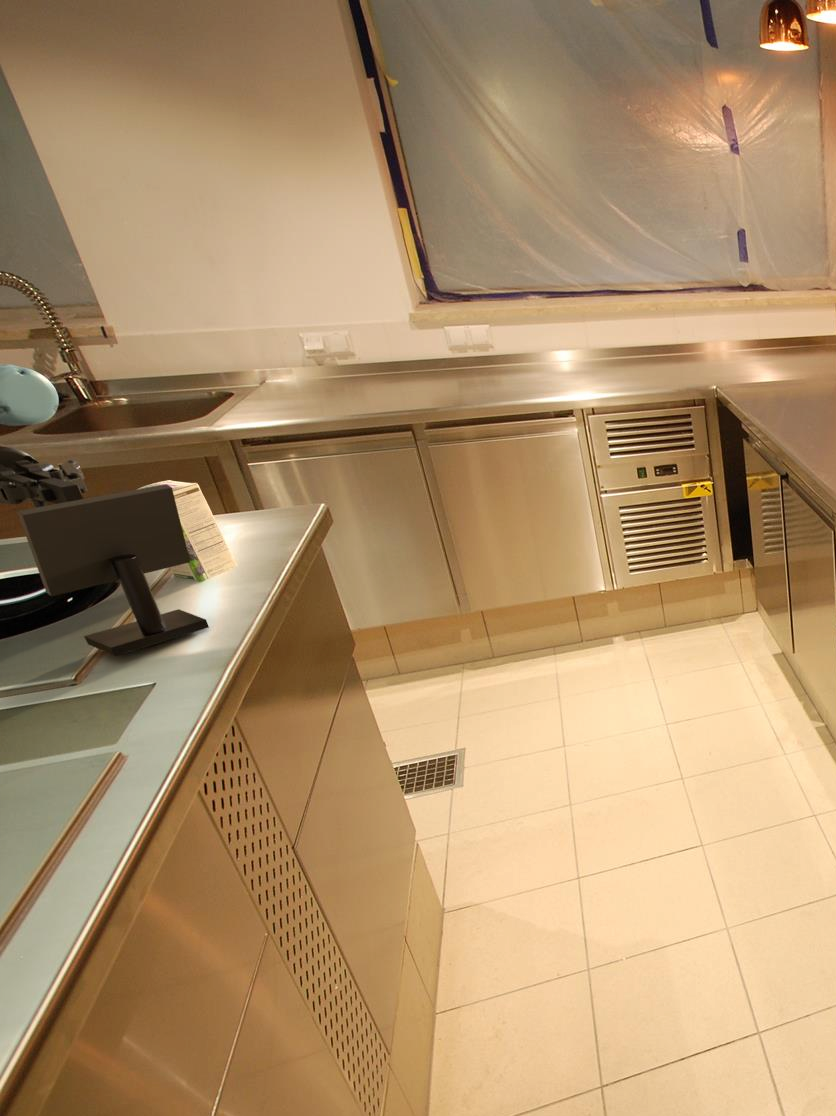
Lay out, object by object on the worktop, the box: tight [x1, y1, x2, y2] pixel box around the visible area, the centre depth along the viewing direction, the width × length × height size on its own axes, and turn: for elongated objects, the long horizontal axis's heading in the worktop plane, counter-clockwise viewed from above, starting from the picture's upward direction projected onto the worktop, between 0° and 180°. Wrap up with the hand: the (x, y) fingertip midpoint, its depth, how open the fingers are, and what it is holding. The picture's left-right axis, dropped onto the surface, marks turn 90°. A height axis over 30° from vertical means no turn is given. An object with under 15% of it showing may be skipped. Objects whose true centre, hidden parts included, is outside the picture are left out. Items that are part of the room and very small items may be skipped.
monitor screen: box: [17, 484, 190, 597], centre depth 103 cm, size 14×1×11 cm, turn 153°
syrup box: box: [138, 479, 238, 583], centre depth 124 cm, size 6×6×14 cm
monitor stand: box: [83, 554, 210, 657], centre depth 107 cm, size 10×7×11 cm
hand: (74, 496), depth 103 cm, fingers closed
